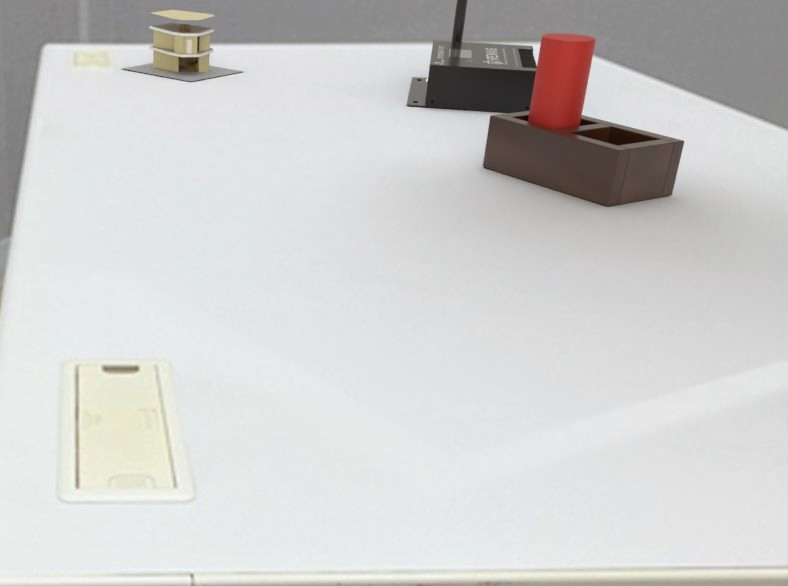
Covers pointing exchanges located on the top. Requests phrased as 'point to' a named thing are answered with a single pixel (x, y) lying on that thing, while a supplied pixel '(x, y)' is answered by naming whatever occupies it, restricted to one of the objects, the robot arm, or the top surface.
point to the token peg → (561, 80)
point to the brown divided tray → (585, 158)
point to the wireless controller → (476, 74)
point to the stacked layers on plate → (182, 49)
